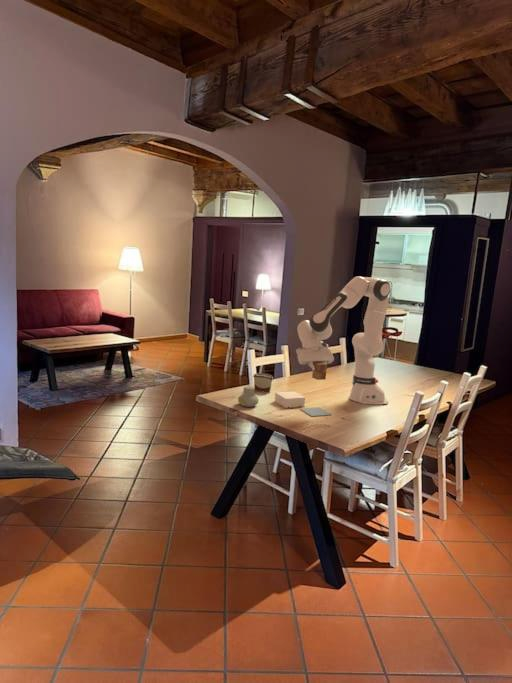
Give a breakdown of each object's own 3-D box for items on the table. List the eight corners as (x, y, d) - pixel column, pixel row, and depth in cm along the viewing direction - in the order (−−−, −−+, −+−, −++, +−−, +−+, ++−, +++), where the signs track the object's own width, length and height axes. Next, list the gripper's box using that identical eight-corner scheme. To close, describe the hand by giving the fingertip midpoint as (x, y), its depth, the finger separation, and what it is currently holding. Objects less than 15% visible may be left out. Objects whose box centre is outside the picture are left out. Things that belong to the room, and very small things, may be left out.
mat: (319, 408, 253) (319, 407, 252) (331, 415, 242) (331, 414, 242) (300, 409, 247) (300, 408, 247) (311, 416, 237) (311, 415, 237)
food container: (274, 391, 280) (276, 374, 279) (271, 393, 275) (273, 377, 273) (255, 387, 284) (256, 372, 283) (252, 390, 278) (253, 374, 277)
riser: (293, 399, 264) (294, 391, 264) (304, 406, 254) (305, 397, 253) (274, 401, 259) (275, 392, 259) (285, 407, 249) (285, 398, 248)
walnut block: (320, 377, 245) (321, 362, 244) (325, 379, 240) (326, 364, 239) (312, 377, 243) (313, 362, 241) (317, 379, 238) (318, 364, 237)
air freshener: (235, 403, 250) (236, 385, 249) (248, 401, 255) (249, 384, 254) (247, 409, 242) (249, 390, 240) (260, 407, 247) (261, 389, 245)
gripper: (297, 344, 241) (305, 367, 234) (330, 344, 249) (339, 366, 242) (292, 351, 245) (300, 374, 238) (325, 350, 254) (333, 372, 247)
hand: (320, 370), depth 240 cm, fingers closed on walnut block, 5 cm apart
